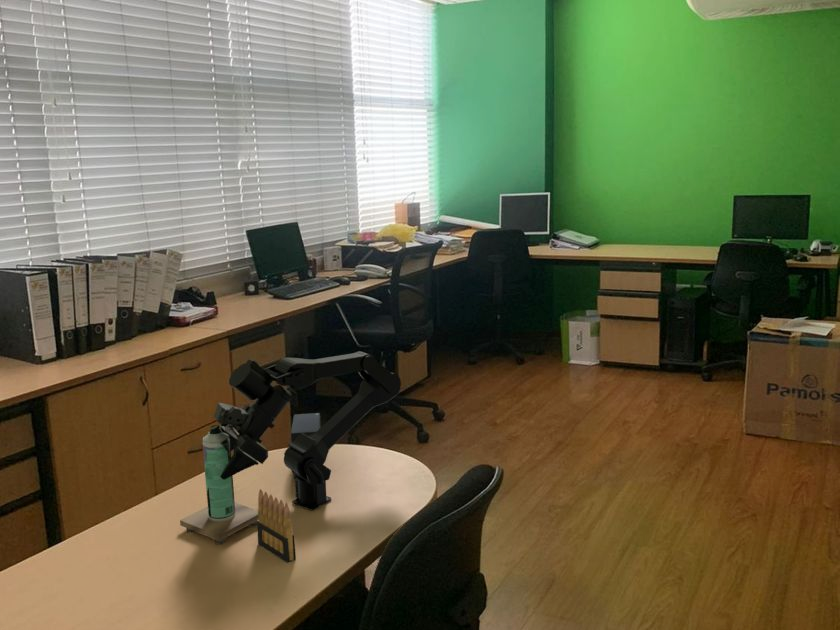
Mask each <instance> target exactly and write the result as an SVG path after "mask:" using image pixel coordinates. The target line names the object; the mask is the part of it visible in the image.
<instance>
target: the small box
mask: <svg viewBox="0 0 840 630" xmlns="http://www.w3.org/2000/svg"><path fill="white" fill-rule="evenodd" d="M321 427H322V426H321V413H320V412H315V413H301V414H300V413H299V414H293V418H292V426H291V430H290V431H291V432H290V438H291V439H290V440H291V442H290V443H292V442H293V441H294V440H295V439H296V438H297V437H298V435H300V434H301V433H303V434H305V435H306V436H310V435H313V434H314V433H316V432H317V431H318V430H319V429H320V428H321ZM293 478H294V479H296V475H295V474H293Z"/></svg>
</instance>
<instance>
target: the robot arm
mask: <svg viewBox="0 0 840 630" xmlns="http://www.w3.org/2000/svg"><path fill="white" fill-rule="evenodd" d="M354 373H358V374H359V376H360V377H361V378H362V379H363V380H362V381H361V383H360V386H359V389H358V392H357V393H356V394H355V395H354V396H353V397H352V398H351V399H350V400H348V401H347V403H345V405H343V406H342V407H341V408H340V409H339V410H338V411H337V412H336V413H335V414H333V416H332V417H330V419H329V420H328V421H326V422H325V423H324V424H323V425H322V426H321V428H320V429H319V430H318V431H317V432H316V433H314V434H313V435H310V436H306V435H305V434H303V433H301V434H300V435H298V437H297V438H296V439H295V440H294V441H293V442H290V443H287V446H288V447H287V448H286V449H285V451H284V453H283V454H284V456H283V464H284V465H285V467H286V468H287V469H289V470H290V471H291V474H293V475H294V474H295V475H296V478H295V481H294V488H295V499H293V500H291V503H292V505H295V506H299V507H301V508H304V509H307V510H310V511H314V510H316V509H318V508H320V507H322V506H323V505H325V504H327V503H329V502H331V501H332V497H331V496H328V495H327V483H326V482H327V481H329V480H330V477H331V473H332V470H331V469H330V468H328V467H327V466H326V465H324V464H325V463H326V460H327V459H328V458H327V457H328V456H329V455H328V454H329V452H330V450H331V448H332V447H333V446H334V445H335V444H337V443H338V442H339V441H340V439H342V438H343V437H344V436H345V435H346V434H347V433H348V432H349V431H350V430H351V429H353V427H354V426H355V425H356V424H358V423H359V421H361V420H362V418H364V417H365V415H367V414H368V413H369V412H370V411H371V410H372V409H373V408H375V407H377V406H380V405H383V404H386V403H388V402H390V400H392V399H393V398H395V397H396V396H397V395H398V394H399V393H400V391H401V389H402V388H401V386H402V382H401V378H400V376H399V374H396V373H394V372H391V371H390V370H389V369H387V368H386V367H385V366H384V365H382V364H381V363H380V362H379V361H377V359H376V358H375V357H374V356H373V355H371V354H369V353H366V352H364V351H355V352H353V353H348V354H347V353H346V354H340V355H335V356H328V357H322V358H316V359H307V358H300V357H283V358H280V359H279V360H278V362H277V363H276V364H273V365H271V366H268V367H266V368H263V367H262V366H260V365H259V363H258V362H256V361H255V360H254V359H250V358H248V360H247V361H246V362H245V363H242V364H241V365H239V366H238V367H236V368H235V369H233V371H232V372H231V374H230V377H229V379H228V380H229V381H228V384H229V386H230V387H232V388H233V389H235V390H236V391H237V392H239V393H240V394H241V395H243V396H245V398H247V399H248V400H250V401H254V402H253V403H252V404H250V403H247V404H245V405H244V406H243V408H242V407H241V408H240V407H238V406H234V405H231V404H227V403H222V402H217V404H216V408H215V410H214V413H213V417H212V418H214V419H215V420H216V421H215V422H217V423H218V425H219V429H220V430H221V431H222V432H223V433H226V434H228V435H229V439H230V449H231V452H232V451H233V454H232V455H231V459H230V461H229V462H228V464H227V466H226V467H225V469H224V470H223V472H222V474H221V476H220V477H221V478H222V479H223V480H225V479H227V478H229V477H231V476H234V475H236V474H238V473H240V472H242V471H245V470H246V469H248V468H251V467H253V466H258V465H259V464H262V465H263V464H264V463H265V462H266V461H267V460H268V458H269V451H268V449H267V448H266V447H265V446H264V445H263V444H262V442H263V440H262V439H261V437H262V436H263V434H264V433H266V431H267V430H268V428H270V429H271V430H273V429H274V427H275V424H274V423H273V422H274V421H275V420H276V419H277V418H278V416H279V415H280V414H281V412H282V411H284V409H285V407H287V405H288V403H290V404H292V406H294V407H298V405H299V403H298V393H297V392H296V391H294V390H301V389H304V388H306V387H309V386H311V385H314V383H316V382H317V381H320V380H322V379H326V378H331V377H332V378H333V377H338V376H344V375H349V374H354ZM272 383H276V385H273V384H272ZM285 387H288V388H290V389H293V390H287V389H286V388H285Z"/></svg>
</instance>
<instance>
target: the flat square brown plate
mask: <svg viewBox="0 0 840 630" xmlns="http://www.w3.org/2000/svg"><path fill="white" fill-rule="evenodd" d="M179 521H180V522H179V525H180V526H181V527H184V528H186V529H185V530H186V533H194V532H195V533H198V534H201V535H203V536H206V537H208V538H211V539H213V540H214V542H215V544H216V545H223V544H225V542H226V538H228V537H229V536H231V535H233V534H235V533H236V532H238V531H240V530H242V529H244V528H246V527H247V526H249V527H256V526H257V521H259V520H258V509H255V508H252V507H249V506H246V505H243V504H242V503H238V502H235V516H234V517H233V518H232V519H230V520H228V521H224V522H214V521H211V520H210V519H209V513H208V506H206V507H204V508H202V509H200V510H197V511H196V512H193V513H192V514H189V515H188V516H186V517H184V518H182V519H180V520H179Z"/></svg>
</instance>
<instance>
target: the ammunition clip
mask: <svg viewBox="0 0 840 630" xmlns="http://www.w3.org/2000/svg"><path fill="white" fill-rule="evenodd" d="M257 500H258V501H257V505H258V507H257V510H258V521H257V525H256V526H257V527H256V528H257V529H256V530H257V545H259V546H260V547H261V548H263V549H265V550H267V551H269V552H270V553H271V554H273V555H274V556H276V557H277V558H279V559H280V560H282V561H284V562H286V563H287V564H289V563H291V562H294V561H295V560H297V554H296V543H295V540H296V539H295V535H294V534H293V524H292V519H291V511H290V506H289V504H288V503H287V502H285V503H283V500H282V499H280V500H278V498H277V497H273V495H272V494H270V495H269V494H268V493H267V492H266V491H265V492H264V493H263V490H262V489H261V488H260V489H259V491H258V499H257Z"/></svg>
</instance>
